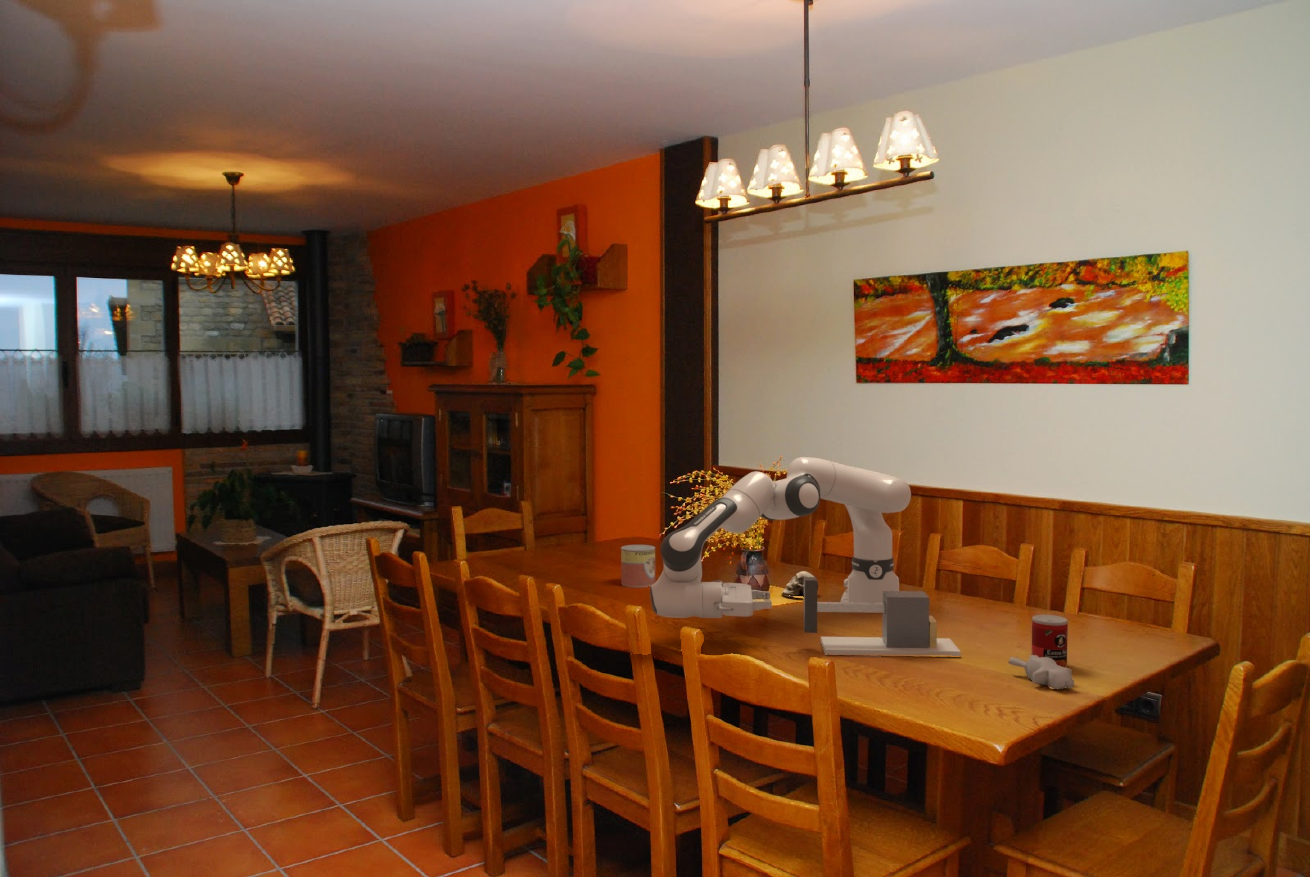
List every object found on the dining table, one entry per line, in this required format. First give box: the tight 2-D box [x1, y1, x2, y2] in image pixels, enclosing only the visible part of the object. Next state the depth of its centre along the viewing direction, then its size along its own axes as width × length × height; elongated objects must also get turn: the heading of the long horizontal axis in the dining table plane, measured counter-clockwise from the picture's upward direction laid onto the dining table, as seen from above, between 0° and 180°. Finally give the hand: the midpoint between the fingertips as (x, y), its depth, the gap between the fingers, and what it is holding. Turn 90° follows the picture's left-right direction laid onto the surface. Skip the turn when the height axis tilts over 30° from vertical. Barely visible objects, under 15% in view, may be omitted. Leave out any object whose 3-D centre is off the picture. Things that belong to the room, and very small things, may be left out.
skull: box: [781, 570, 819, 598], centre depth 305 cm, size 12×10×10 cm
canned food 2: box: [1031, 614, 1069, 668], centre depth 229 cm, size 8×8×11 cm
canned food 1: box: [620, 544, 656, 588], centre depth 324 cm, size 11×11×12 cm
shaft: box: [803, 576, 886, 634], centre depth 243 cm, size 4×28×13 cm, turn 86°
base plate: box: [820, 636, 962, 657], centre depth 243 cm, size 12×32×2 cm, turn 86°
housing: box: [881, 590, 930, 648], centre depth 242 cm, size 7×10×14 cm
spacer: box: [929, 615, 938, 648], centre depth 242 cm, size 6×2×6 cm, turn 175°
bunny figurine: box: [1007, 654, 1075, 690], centre depth 217 cm, size 10×5×15 cm
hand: (770, 599), depth 245 cm, fingers open, 8 cm apart
